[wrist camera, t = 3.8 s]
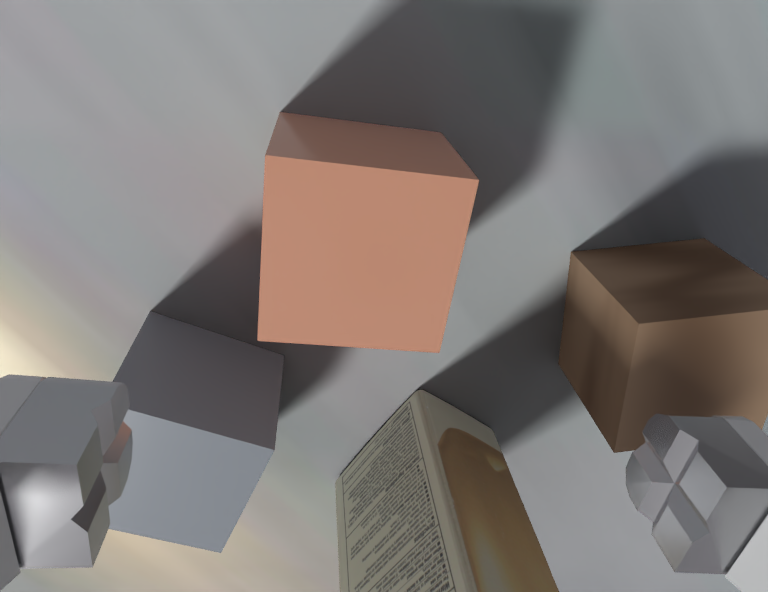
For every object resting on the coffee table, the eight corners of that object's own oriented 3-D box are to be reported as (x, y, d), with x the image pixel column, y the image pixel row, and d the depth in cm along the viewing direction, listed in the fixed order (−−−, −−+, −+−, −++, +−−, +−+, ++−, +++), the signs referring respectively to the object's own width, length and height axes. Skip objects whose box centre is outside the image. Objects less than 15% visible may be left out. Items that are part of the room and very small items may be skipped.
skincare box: (408, 513, 26) (468, 879, 15) (331, 478, 24) (337, 861, 14) (500, 423, 24) (645, 778, 13) (422, 379, 22) (515, 742, 12)
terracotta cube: (440, 131, 18) (479, 179, 13) (414, 272, 20) (439, 352, 16) (280, 111, 17) (265, 155, 12) (272, 260, 19) (257, 341, 15)
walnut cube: (703, 237, 20) (807, 305, 16) (676, 349, 23) (759, 434, 18) (570, 250, 20) (638, 323, 16) (557, 362, 23) (613, 452, 18)
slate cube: (284, 354, 21) (274, 450, 17) (240, 446, 23) (221, 552, 19) (150, 309, 20) (101, 402, 15) (116, 412, 22) (63, 518, 17)
